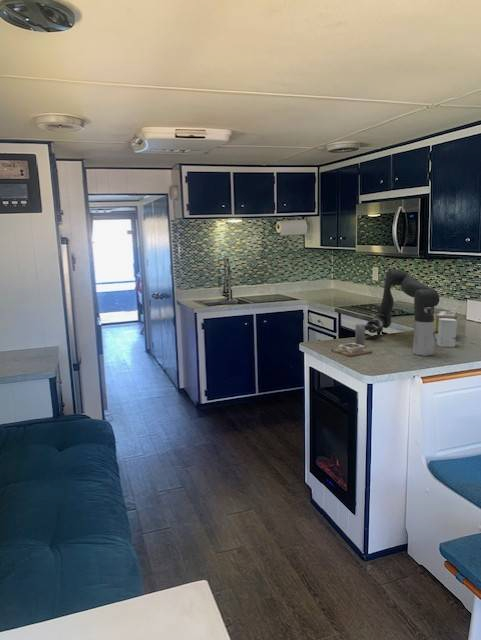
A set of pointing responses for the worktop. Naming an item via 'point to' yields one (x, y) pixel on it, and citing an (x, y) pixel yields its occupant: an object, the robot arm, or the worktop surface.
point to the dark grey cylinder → (360, 334)
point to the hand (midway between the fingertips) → (366, 330)
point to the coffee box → (429, 310)
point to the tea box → (444, 315)
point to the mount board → (351, 350)
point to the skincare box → (446, 332)
